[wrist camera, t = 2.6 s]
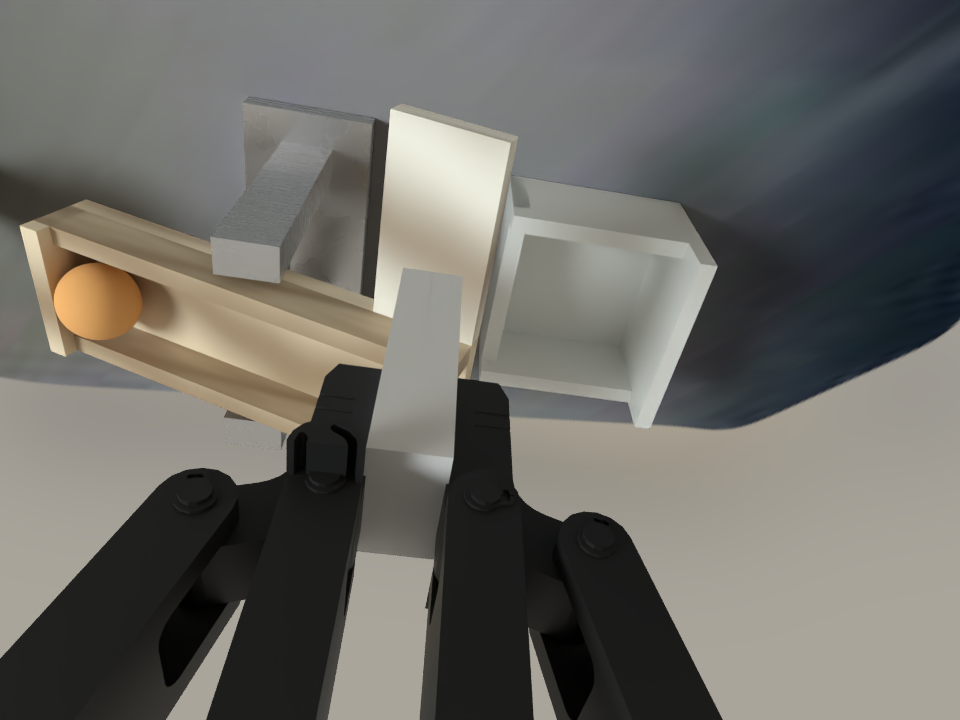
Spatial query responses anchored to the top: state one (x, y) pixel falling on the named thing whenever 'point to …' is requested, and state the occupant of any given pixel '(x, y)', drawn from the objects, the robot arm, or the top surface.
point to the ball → (98, 301)
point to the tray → (592, 294)
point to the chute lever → (288, 280)
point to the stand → (296, 211)
